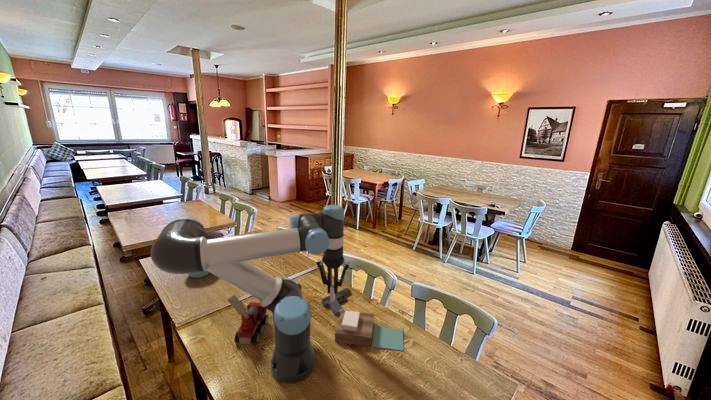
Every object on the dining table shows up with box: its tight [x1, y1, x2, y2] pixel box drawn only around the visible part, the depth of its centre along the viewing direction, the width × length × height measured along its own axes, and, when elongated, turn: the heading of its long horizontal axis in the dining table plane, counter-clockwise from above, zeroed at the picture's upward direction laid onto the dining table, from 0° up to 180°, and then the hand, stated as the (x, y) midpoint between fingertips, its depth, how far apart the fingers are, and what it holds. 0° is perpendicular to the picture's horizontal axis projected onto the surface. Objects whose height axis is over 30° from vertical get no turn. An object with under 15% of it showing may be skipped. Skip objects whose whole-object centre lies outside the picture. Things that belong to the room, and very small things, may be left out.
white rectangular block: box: [341, 309, 360, 331], centre depth 116 cm, size 9×6×2 cm, turn 172°
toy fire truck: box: [227, 294, 269, 345], centre depth 112 cm, size 11×16×18 cm
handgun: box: [320, 287, 352, 317], centre depth 135 cm, size 3×18×12 cm
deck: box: [334, 309, 375, 348], centre depth 116 cm, size 14×14×4 cm
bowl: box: [187, 271, 211, 279], centre depth 153 cm, size 16×16×8 cm
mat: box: [371, 324, 405, 352], centre depth 114 cm, size 12×12×1 cm
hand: (332, 299), depth 114 cm, fingers closed
